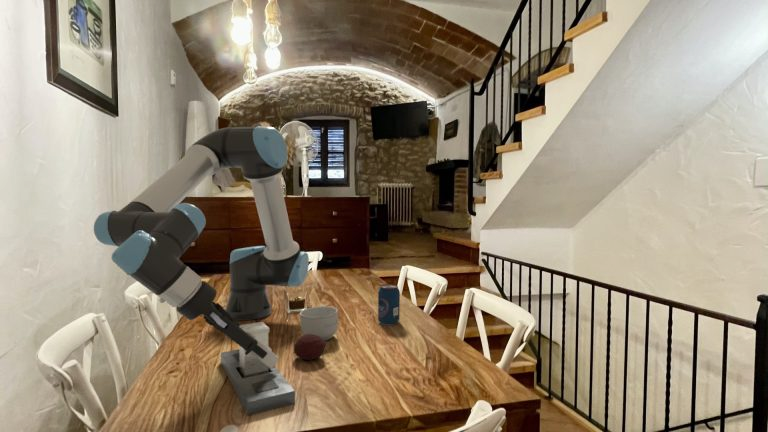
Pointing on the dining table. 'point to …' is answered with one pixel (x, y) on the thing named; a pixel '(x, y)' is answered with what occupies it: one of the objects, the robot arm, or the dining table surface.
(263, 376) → the grey board with recesses
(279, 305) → the dining table surface
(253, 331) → the grey rectangular block
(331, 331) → the teacup
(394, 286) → the soda can
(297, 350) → the potato
